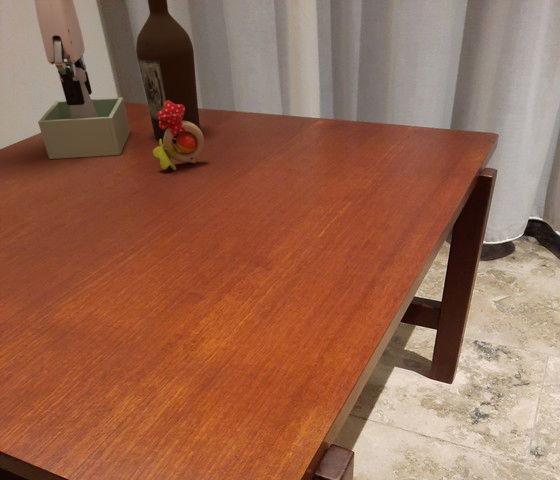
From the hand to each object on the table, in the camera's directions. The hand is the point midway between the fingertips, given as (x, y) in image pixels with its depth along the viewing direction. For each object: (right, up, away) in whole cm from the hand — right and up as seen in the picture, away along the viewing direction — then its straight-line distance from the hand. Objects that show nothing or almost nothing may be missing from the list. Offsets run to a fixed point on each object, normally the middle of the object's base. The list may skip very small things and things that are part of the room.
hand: (79, 98), depth 106 cm
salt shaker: (0, -6, +5) cm, 8 cm away
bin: (0, -7, +6) cm, 9 cm away
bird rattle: (+20, -15, -4) cm, 25 cm away
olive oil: (+17, -4, +9) cm, 19 cm away
